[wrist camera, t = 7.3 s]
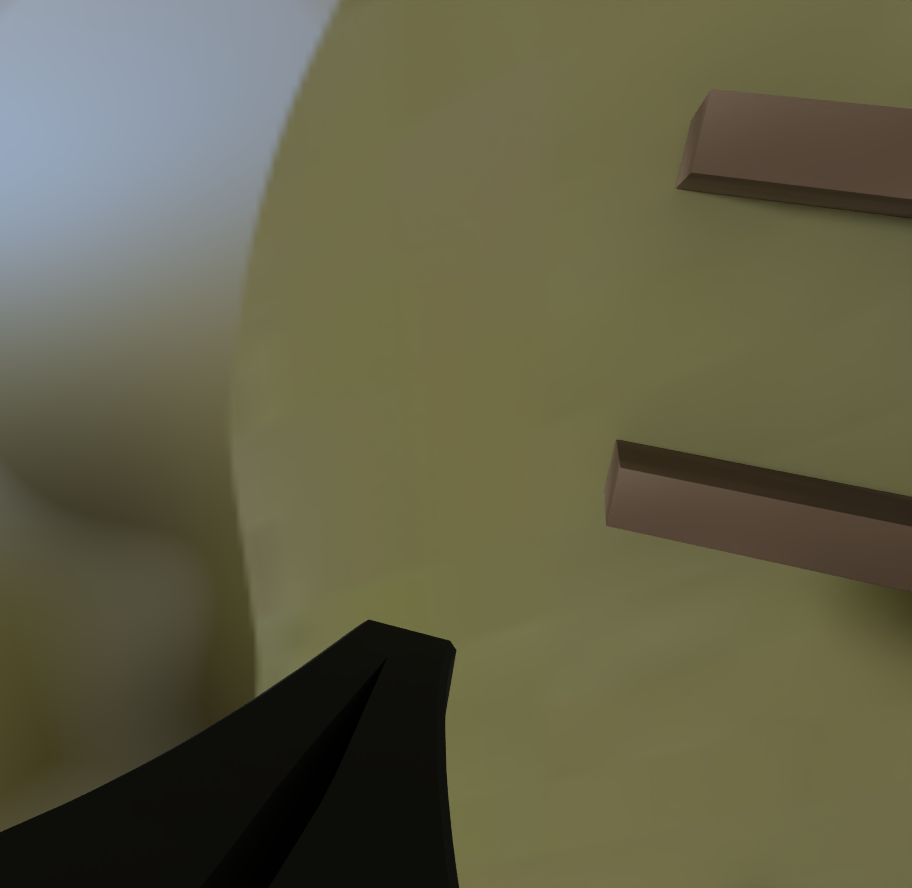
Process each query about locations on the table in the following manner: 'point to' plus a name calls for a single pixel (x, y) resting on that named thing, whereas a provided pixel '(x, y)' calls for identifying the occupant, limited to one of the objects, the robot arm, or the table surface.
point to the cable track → (752, 488)
